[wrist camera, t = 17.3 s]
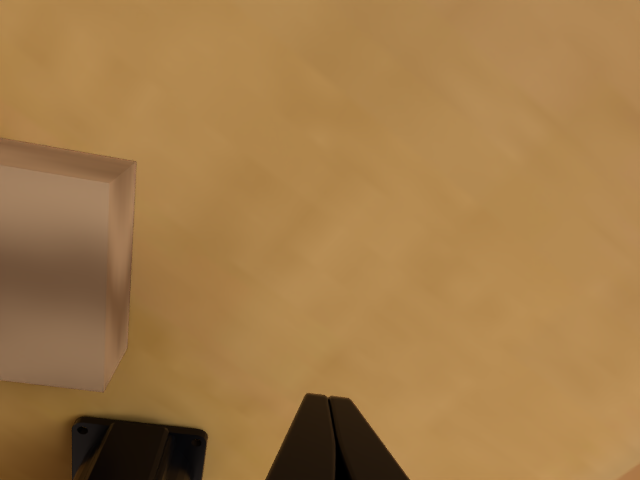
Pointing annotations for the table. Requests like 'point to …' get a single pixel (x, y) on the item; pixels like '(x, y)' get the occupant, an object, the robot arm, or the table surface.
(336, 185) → the table surface
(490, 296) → the table surface
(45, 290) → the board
